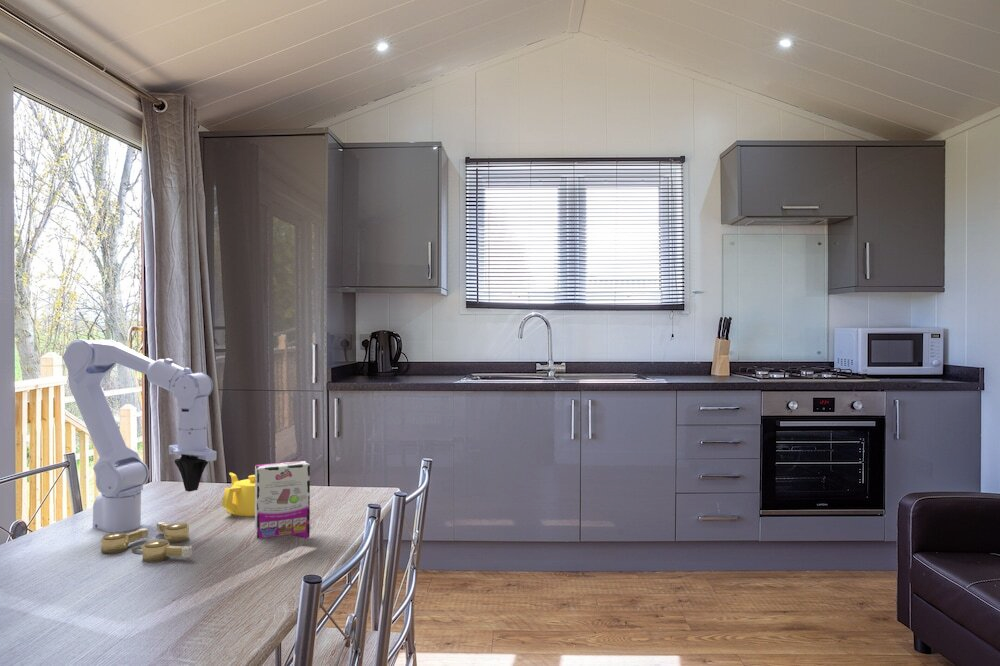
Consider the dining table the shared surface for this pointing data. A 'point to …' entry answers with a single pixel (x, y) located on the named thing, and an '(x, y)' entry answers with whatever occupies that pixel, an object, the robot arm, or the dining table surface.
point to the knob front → (163, 550)
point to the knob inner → (120, 540)
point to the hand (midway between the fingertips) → (191, 490)
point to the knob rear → (174, 531)
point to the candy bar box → (282, 499)
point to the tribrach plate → (138, 549)
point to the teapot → (240, 496)
